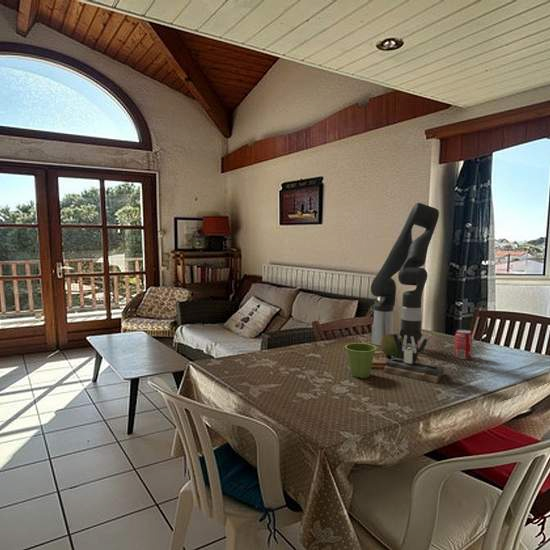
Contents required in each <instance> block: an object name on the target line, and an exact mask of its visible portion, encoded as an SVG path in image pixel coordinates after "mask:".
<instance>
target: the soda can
mask: <svg viewBox="0 0 550 550" xmlns="http://www.w3.org/2000/svg"><path fill="white" fill-rule="evenodd" d="M453 347H454V350H453V352H454V357H456V358H457V359H460V360H469V359H470V358H472V355H473V354H472V353H473V334H472V331H471V330H467V329H456V332H455V334H454V345H453Z"/></svg>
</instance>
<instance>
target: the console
mask: <svg viewBox="0 0 550 550" xmlns="http://www.w3.org/2000/svg"><path fill="white" fill-rule="evenodd" d="M383 373H387V374H391V375H396V376H401V377H406V378H409V379H415V380H420V381H425V382H430V383H432V384H433V383H435V384H437V383H438V382H439V381H440V380H441V379H442V377H443V376H445V374H446V369H445V367H444V366H443V365H437V364H432V363H428V362H422V361H421V362H420V361H418V360H417V361H416V362H413V365H410V364H406V363H405V362H404V360H403V358H402V357H398V358H396V357H390V358H389V359H387V361H385V366H383Z"/></svg>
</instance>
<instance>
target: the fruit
mask: <svg viewBox="0 0 550 550" xmlns="http://www.w3.org/2000/svg"><path fill="white" fill-rule="evenodd" d="M394 334H395V333H392V334H387V335H385V336H384V337H383V338H382V339H381V342H380V346H379V347H380V349H381V350H380V351H382V353H383V354H384V355H385V356H387V355H389V356H393V357H398V358H402V350H401V349H398V347H397V345H396V342H395V339H394V337H393V335H394ZM400 340H401V343H402V346H403V339H402V337H401V336H400ZM389 356H388V357H389Z"/></svg>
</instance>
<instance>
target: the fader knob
mask: <svg viewBox="0 0 550 550" xmlns="http://www.w3.org/2000/svg"><path fill="white" fill-rule="evenodd" d="M413 353H414V352H413V347H412V346H411V347H408V346H407V348H406V349H405V350H404V362H405V363H406V364H410V365H413Z"/></svg>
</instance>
